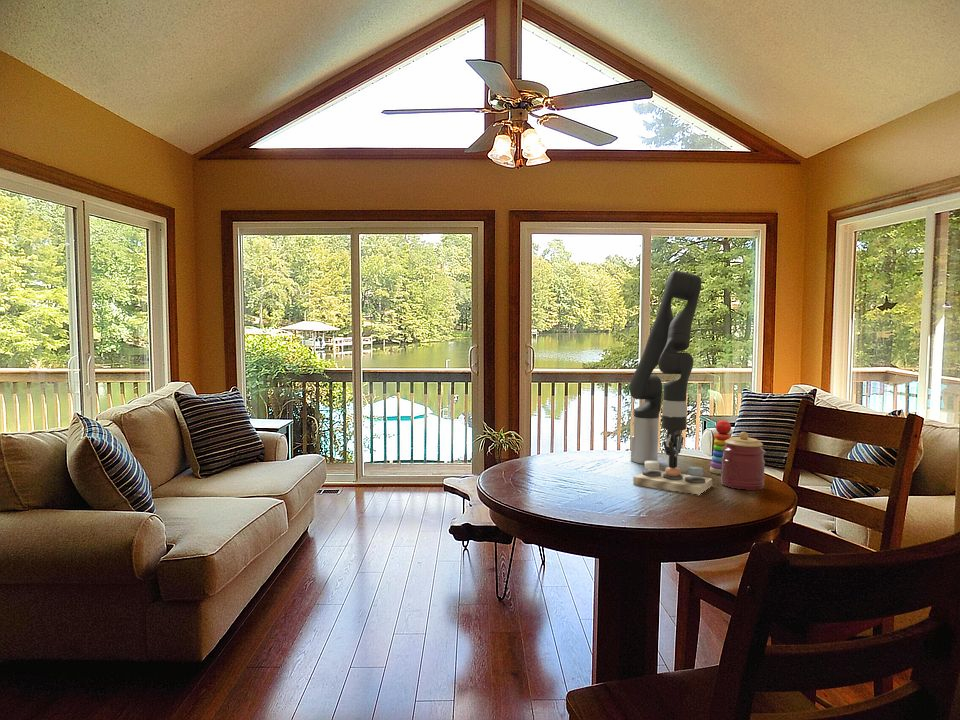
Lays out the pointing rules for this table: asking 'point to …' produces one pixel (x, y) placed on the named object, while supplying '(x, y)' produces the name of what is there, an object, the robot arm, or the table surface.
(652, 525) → the table surface
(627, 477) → the table surface
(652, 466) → the ivory button
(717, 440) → the stacking toy
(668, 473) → the terracotta button
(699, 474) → the slate button
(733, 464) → the canister
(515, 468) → the table surface
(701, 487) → the button panel
